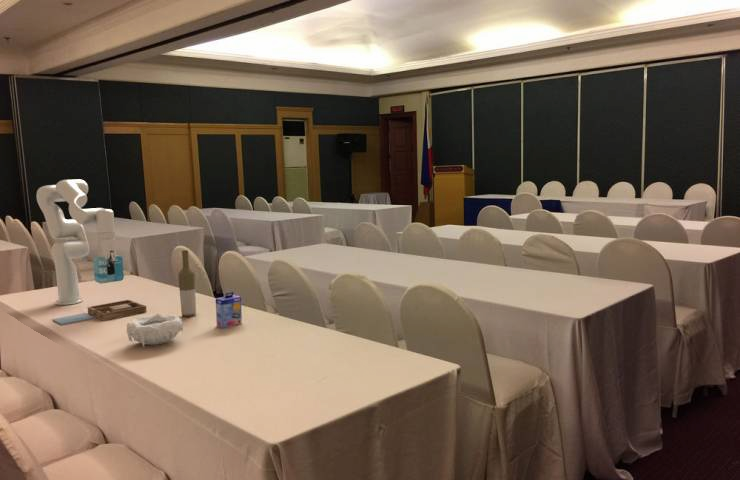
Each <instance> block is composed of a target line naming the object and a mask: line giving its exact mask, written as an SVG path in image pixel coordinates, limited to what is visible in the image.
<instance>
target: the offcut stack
mask: <svg viewBox="0 0 740 480" xmlns="http://www.w3.org/2000/svg"><path fill="white" fill-rule="evenodd" d="M130 308H131V306H130V305H127V304H125V305H119V306H113V307H109V311H107V312H106V313H109V312H114V311H120V310H125V309H130Z"/></svg>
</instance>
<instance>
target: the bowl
mask: <svg viewBox="0 0 740 480" xmlns="http://www.w3.org/2000/svg"><path fill="white" fill-rule="evenodd" d="M183 330H184V325H183V319H182V318H179V317H178V315H174V314H173V313H170V314H162V313H156V314H152V315H149V316H141V317H140V316H137V317H136V318H134V319H132V320H131V321H129V322H128V323H127V324H126V333H127V337H128V340H129V342H131V343H133V340H134V341H135V342H138V343H139V344H141V345H142V347H143V348H145V345H149V346H150V345H152V346H155V345H158V346H159V345H161V344H165V343H168V342H170V341H172V340H173V339H174V338H175V337H177V335H178V334H179V333H180V332H183Z"/></svg>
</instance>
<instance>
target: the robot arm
mask: <svg viewBox="0 0 740 480" xmlns="http://www.w3.org/2000/svg"><path fill="white" fill-rule="evenodd" d="M88 193H89V185H88V183H87V182H86V181H85V180H83V179H80V178H79V179H62V180H59V181H58V182H57V183H56V184H50V185H49V184H47V185H43V186H40V187H39V188H38V189H37V191H36V201H37V202H36V203H37V204H38V206H39V208H40V210H41V212H42V213H43V216H44V219H45V222H46V225H47V229H48V232H49V235H50V236H51V238H52V239H54V240H62V241H57V242H55V243H54V244H53V245H52V247H51V254H52V258H53V261H54V267H55V275H56V284H57V295H58V296H57V297H58V299H57V300H56V301H55V304H56V305H57V306H68V305H75V304H80V303H82V302H83V301H84V298H83V297H80V289H79V277H78V269H77V265H76V264H75V262H74V261H73V259H78V258H84V257H86V256H88V255H89V253H90V244H89V241H88V238H87V234H86V231H85V227H84V226H89V225H96V231H97V251H98V252H97V253H98V254H97V257H102V258H104V260H105V261H106V260H107V264H108V267H107V273H108V275H112V274H115V267H114V266H115V264H114V263H115V259H116V255H117V252H116V244H115V239H116V230H115V228H116V227H115V217H114V215H115V213H114V210H112V209H110V208H103V207H96V208H93V207H92V208H83V207H84V206H86V204H87V203H88V196H87V194H88ZM57 202H60V203H61V202H67V204H69V205H68V212H69V215H70V217H71V218H70V219H69V218H68V219H66V218H65V215H64V212H63V209H62V208H61V207H60V206H59V205H57V204H56V203H57ZM64 239H68V240H64ZM109 258H111V260H109ZM109 261H110V263H109Z"/></svg>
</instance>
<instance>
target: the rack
mask: <svg viewBox="0 0 740 480" xmlns="http://www.w3.org/2000/svg"><path fill="white" fill-rule="evenodd" d="M125 304H127V305H130V306H131V308H130V309H125V310H120V311H114V312H109V313H106V312H107V311H109V307H113V306H119V305H125ZM147 312H148V311H147V305H146V304H142V303H139V302H138V301H133V300H132V299H125V300H118V301H113V302H109V303H104V304H103V303H102V304H97V305H92V306H87V314H88V315H90V316H92V317H94V318H97V319H100V320H101V321H108V320H112V319H113V320H114V319H119V318H123V317H128V316H134V315H138V314H143V313H147Z"/></svg>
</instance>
